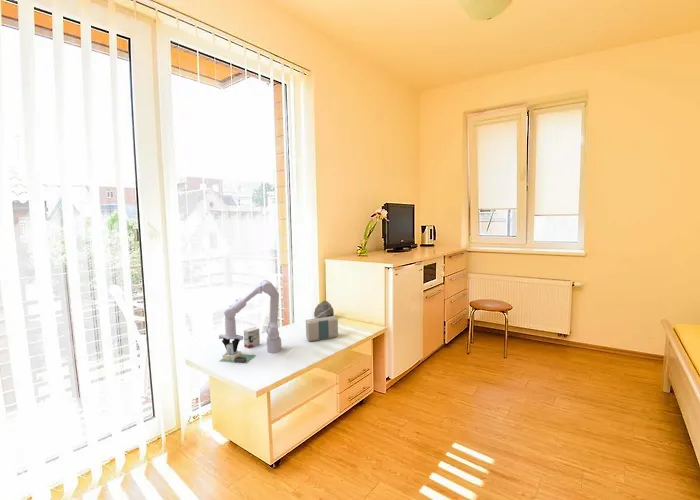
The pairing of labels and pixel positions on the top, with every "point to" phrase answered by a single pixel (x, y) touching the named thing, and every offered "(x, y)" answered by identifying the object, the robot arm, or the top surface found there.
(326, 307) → the decorative rock
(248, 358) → the board
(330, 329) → the stereo radio cassette player
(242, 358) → the block
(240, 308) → the robot arm
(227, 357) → the frame
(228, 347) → the plug
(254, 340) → the ink box
